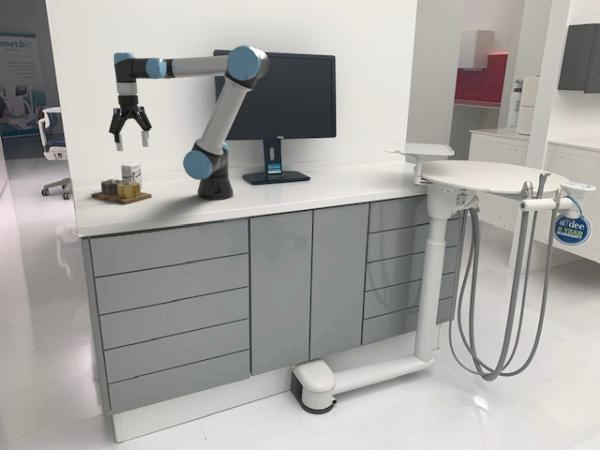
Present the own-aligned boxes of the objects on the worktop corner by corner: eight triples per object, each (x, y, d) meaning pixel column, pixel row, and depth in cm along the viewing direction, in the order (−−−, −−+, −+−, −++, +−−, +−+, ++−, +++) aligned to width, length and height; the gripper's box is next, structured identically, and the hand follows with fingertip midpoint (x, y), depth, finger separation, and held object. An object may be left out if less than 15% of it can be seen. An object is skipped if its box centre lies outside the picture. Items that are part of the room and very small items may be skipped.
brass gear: (145, 195, 199) (144, 183, 198) (128, 199, 192) (127, 187, 190) (130, 192, 203) (129, 180, 202) (113, 196, 196) (112, 184, 194)
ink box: (132, 192, 209) (130, 165, 205) (122, 191, 210) (120, 165, 206) (143, 188, 217) (141, 162, 213) (133, 187, 218) (131, 161, 214)
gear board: (151, 197, 201) (150, 181, 199) (125, 204, 190) (123, 187, 188) (118, 191, 211) (117, 175, 209) (91, 197, 199) (89, 181, 197)
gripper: (144, 93, 200) (149, 144, 206) (94, 95, 179) (101, 152, 185) (157, 93, 196) (162, 145, 203) (108, 95, 175) (115, 153, 181)
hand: (133, 148), depth 194 cm, fingers open, 13 cm apart
